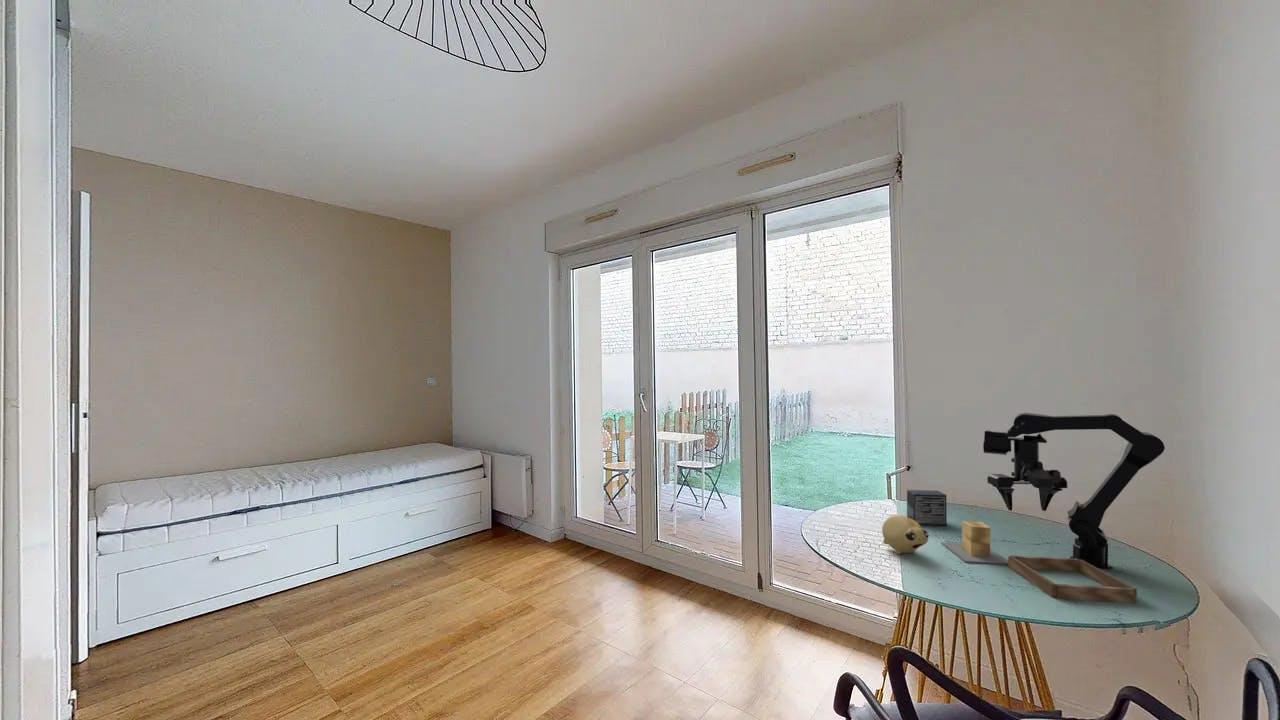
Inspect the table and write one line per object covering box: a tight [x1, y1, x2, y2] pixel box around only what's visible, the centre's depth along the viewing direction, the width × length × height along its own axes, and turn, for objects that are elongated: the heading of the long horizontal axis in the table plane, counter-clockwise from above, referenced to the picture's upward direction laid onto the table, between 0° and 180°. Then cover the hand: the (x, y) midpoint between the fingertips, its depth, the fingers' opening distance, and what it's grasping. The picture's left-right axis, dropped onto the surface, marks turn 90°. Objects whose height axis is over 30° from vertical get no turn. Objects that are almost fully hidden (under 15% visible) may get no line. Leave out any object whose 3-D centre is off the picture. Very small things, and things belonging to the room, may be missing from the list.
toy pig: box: [881, 513, 930, 555], centre depth 146 cm, size 10×12×11 cm
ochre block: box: [961, 520, 991, 556], centre depth 145 cm, size 5×5×8 cm
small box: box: [906, 489, 948, 527], centre depth 172 cm, size 11×6×10 cm, turn 84°
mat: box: [940, 541, 1008, 566], centre depth 145 cm, size 12×14×1 cm
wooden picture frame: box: [1007, 554, 1138, 604], centre depth 127 cm, size 18×18×3 cm
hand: (1026, 510), depth 147 cm, fingers open, 9 cm apart
